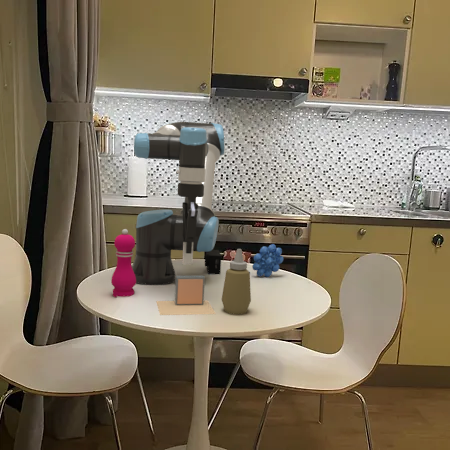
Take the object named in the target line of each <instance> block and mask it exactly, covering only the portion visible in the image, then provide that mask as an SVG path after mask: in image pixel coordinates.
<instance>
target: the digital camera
mask: <svg viewBox="0 0 450 450" xmlns="http://www.w3.org/2000/svg"><path fill="white" fill-rule="evenodd" d="M221 265H222V254H221V253H220V250H219V249H212V250H211V251H209V252H206V253H205V255H204V267H206V269H207V274H208V275H221V268H222V267H221Z"/></svg>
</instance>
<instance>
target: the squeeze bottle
mask: <svg viewBox="0 0 450 450" xmlns="http://www.w3.org/2000/svg"><path fill="white" fill-rule="evenodd" d="M247 268H248V262H246V261H244V256H243V251H242V249H241V248H237V249H236V252H235V256H234V259H233V260H231V261H230V262H229V268H228V269H226V271H225V276H224V283H223V289H222V294H221V302H222V306H223V311H224V312H225V313H228V314H230V315H245V314H247V311H248V308H249V306H250V304H251V301H252V295H251V292H252V291H251V272H250V271H249V270H248V269H247Z"/></svg>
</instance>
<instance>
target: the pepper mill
mask: <svg viewBox="0 0 450 450" xmlns="http://www.w3.org/2000/svg"><path fill="white" fill-rule="evenodd" d="M121 233H122V234H118V235H116V237H115V239H114V242H113V245H114V248H115V249H116V250H115V256H116V257H117V261H116V267H115V270H114V271H113V273H112V276H111V279H110V280H111V285H112V287H114V288H113V289H112V296H113V297H114V298H117V297H131V296H133V295H134V294H135V289H134V287H135V286H136V284H137V283H136V277H135V274H134V271H133V269H132V265H133V264H132V257H133V256H134V254H133V253H134V250H133V249H135V248H136V239H135V238H134V237H133V235H131V234H129V231H128V229H127V228H124V229H122V230H121Z"/></svg>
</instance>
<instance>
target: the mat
mask: <svg viewBox="0 0 450 450" xmlns="http://www.w3.org/2000/svg"><path fill="white" fill-rule="evenodd" d="M155 302H156V306H157V309H158V312H159V315H160V316H180V315H181V316H182V315H183V316H186V315H187V316H188V315H189V316H190V315H216V311H215V310H214V308H213V307H212V305H211V303H210V301H209V300H204V303H203V305H175V303H174V302H175V300H165V301H164V300H157V301H155Z"/></svg>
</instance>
